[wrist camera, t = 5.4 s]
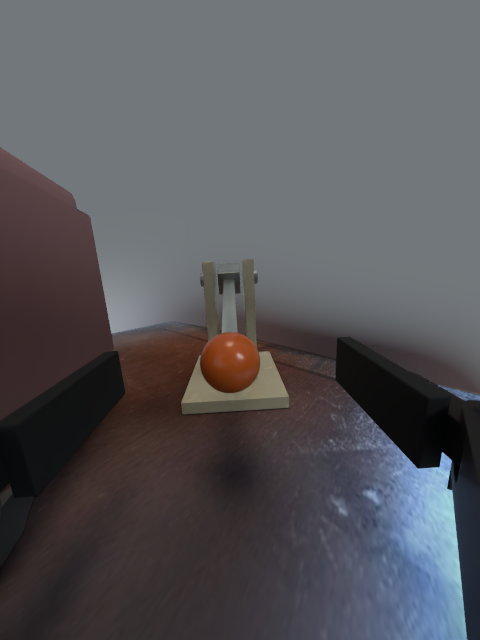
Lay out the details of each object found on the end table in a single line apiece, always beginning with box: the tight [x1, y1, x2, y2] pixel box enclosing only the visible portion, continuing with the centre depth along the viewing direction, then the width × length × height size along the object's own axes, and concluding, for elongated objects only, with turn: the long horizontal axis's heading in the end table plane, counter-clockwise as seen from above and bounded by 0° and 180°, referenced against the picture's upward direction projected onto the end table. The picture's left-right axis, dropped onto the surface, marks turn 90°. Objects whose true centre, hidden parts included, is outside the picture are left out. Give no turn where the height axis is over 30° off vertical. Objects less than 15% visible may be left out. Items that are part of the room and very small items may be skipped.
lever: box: [200, 263, 260, 393], centre depth 19 cm, size 16×4×4 cm, turn 2°
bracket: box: [181, 259, 289, 414], centre depth 26 cm, size 12×10×14 cm
